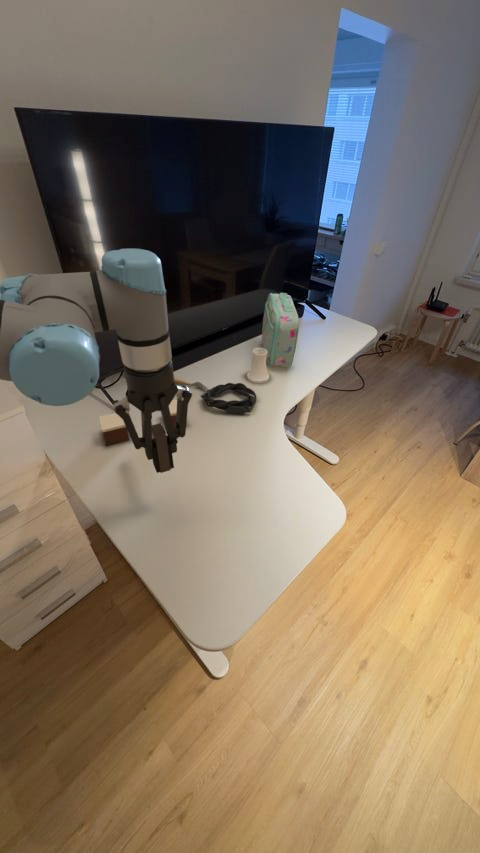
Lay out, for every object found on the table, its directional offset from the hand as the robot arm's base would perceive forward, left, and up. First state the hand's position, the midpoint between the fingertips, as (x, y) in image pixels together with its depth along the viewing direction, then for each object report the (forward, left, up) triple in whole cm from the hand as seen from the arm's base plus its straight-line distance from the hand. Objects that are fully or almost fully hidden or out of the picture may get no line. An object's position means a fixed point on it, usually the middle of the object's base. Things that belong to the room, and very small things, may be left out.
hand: (163, 465), depth 68 cm
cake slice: (+9, +27, -12) cm, 31 cm away
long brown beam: (0, +7, 0) cm, 7 cm away
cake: (-7, +27, -12) cm, 31 cm away
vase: (+43, +40, -12) cm, 60 cm away
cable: (+28, +31, -12) cm, 43 cm away
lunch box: (+56, +52, -12) cm, 78 cm away
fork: (+17, +45, -12) cm, 50 cm away
